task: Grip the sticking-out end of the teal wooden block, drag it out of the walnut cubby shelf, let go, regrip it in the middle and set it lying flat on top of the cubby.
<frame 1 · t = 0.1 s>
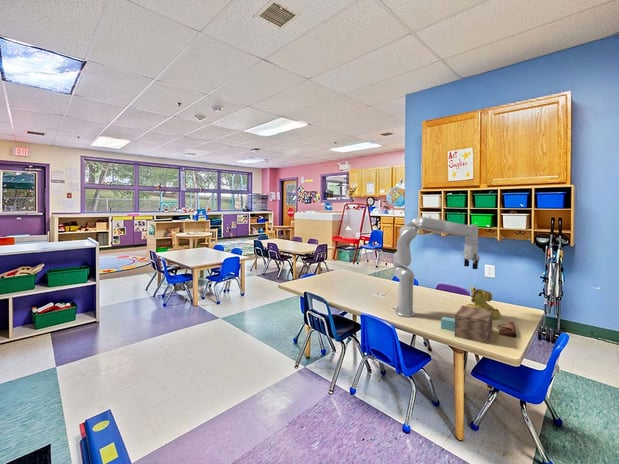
hand: (470, 267, 206), 31 cm above the table, tool pointing down, fingers open, 9 cm apart
sunglasses case: (506, 332, 176), on the table
cubby shelf: (473, 333, 172), on the table
giraffe plush: (481, 316, 201), on the table
teal block: (454, 330, 178), on the table
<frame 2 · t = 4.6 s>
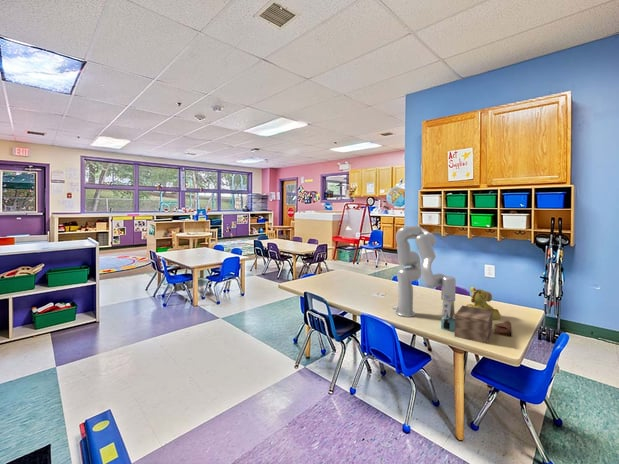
hand: (447, 326, 181), 1 cm above the table, tool pointing down, fingers closed on teal block, 5 cm apart
sunglasses case: (502, 331, 177), on the table
teal block: (454, 330, 178), on the table, touching gripper
when the fingers open (1 cm above the table, at t = 7.6 s): teal block stays where it is, on the table.
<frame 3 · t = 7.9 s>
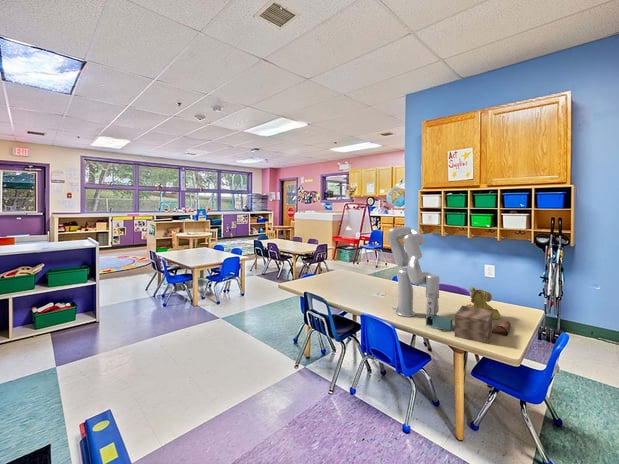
hand: (431, 322, 186), 2 cm above the table, tool pointing down, fingers open, 8 cm apart
teal block: (438, 327, 184), on the table
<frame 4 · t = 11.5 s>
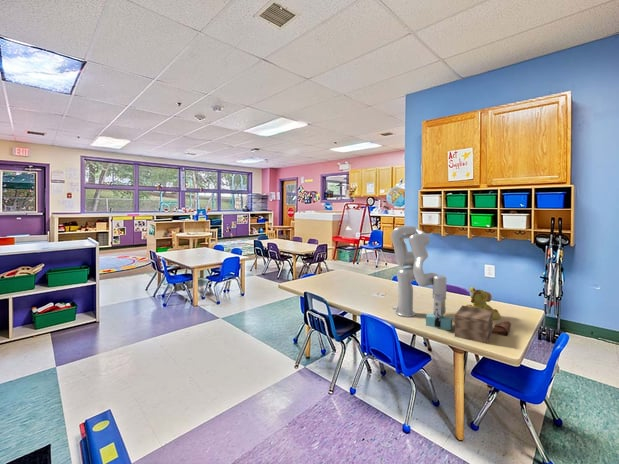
hand: (438, 324, 184), 1 cm above the table, tool pointing down, fingers closed on teal block, 5 cm apart
teal block: (438, 326, 184), on the table, touching gripper
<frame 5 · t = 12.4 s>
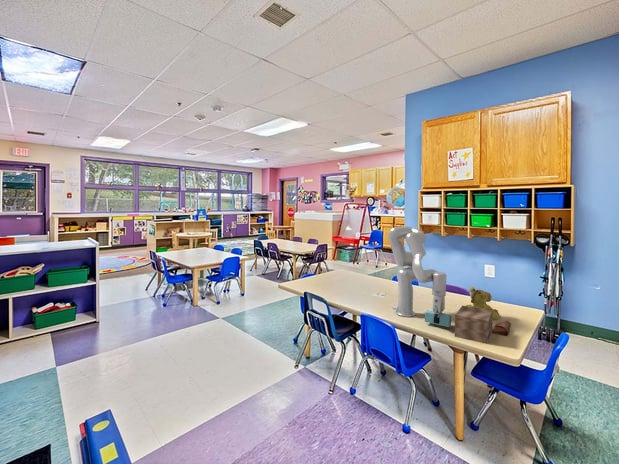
hand: (437, 321, 184), 3 cm above the table, tool pointing down, fingers closed on teal block, 5 cm apart
teal block: (437, 323, 184), point 2 cm above the table, touching gripper
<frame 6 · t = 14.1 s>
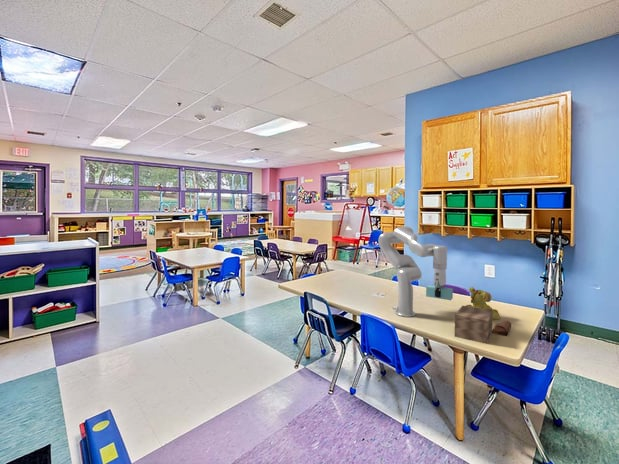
hand: (439, 295, 182), 19 cm above the table, tool pointing down, fingers closed on teal block, 5 cm apart
teal block: (439, 297, 182), point 18 cm above the table, touching gripper
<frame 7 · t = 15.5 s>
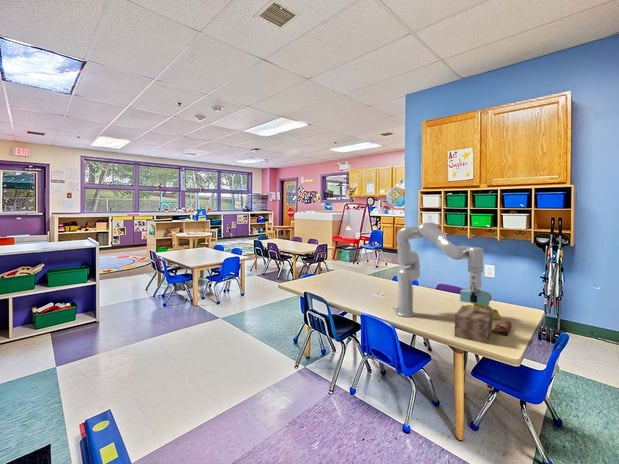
hand: (474, 300, 171), 19 cm above the table, tool pointing down, fingers closed on teal block, 5 cm apart
teal block: (474, 302, 171), point 18 cm above the table, touching gripper
when the fingers open (15 cm above the table, at t = 16.8 s): teal block drops 1 cm, resting on cubby shelf.
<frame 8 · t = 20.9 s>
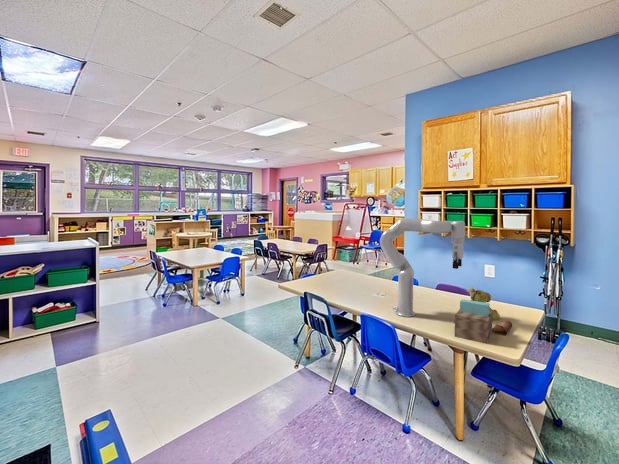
hand: (457, 267, 192), 34 cm above the table, tool pointing down, fingers open, 9 cm apart
teal block: (474, 312, 171), point 12 cm above the table, touching cubby shelf
at the end: teal block inside the target area on the cubby shelf (0.1 cm from its centre), point 12.5 cm above the cubby shelf's base; teal block tilted 0°; the gripper is holding nothing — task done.
